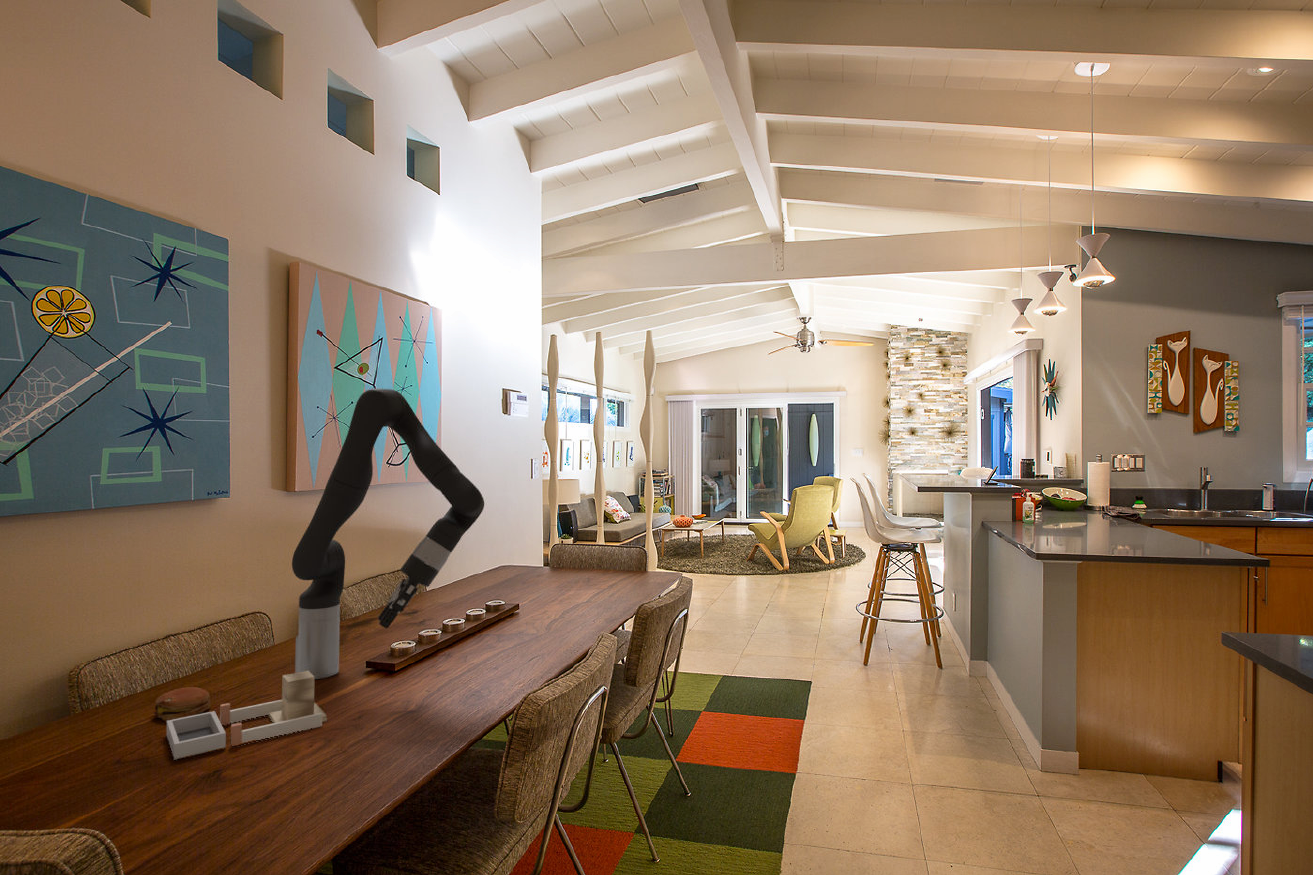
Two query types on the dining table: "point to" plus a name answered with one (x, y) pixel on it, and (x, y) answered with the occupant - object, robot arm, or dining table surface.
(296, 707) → the pawn block
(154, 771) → the dining table surface
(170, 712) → the burger
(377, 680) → the dining table surface
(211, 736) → the box
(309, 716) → the ladder rail frame
